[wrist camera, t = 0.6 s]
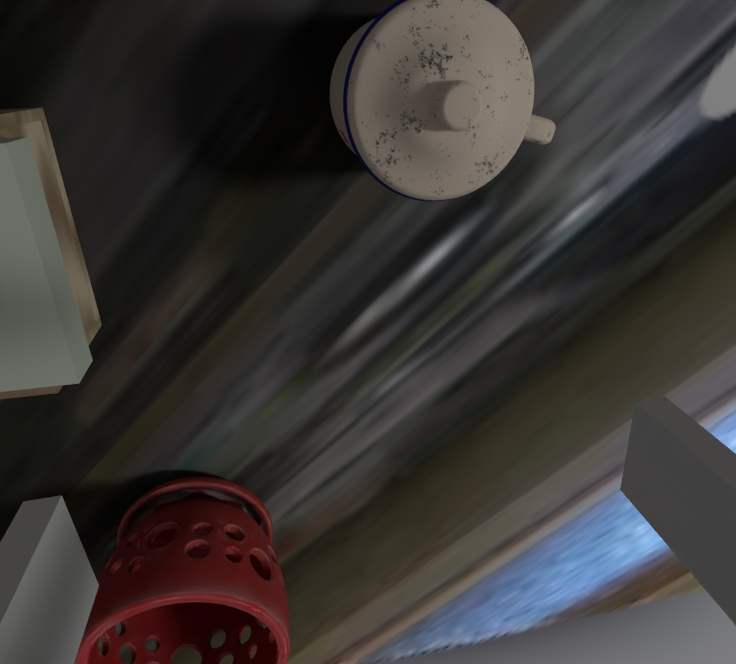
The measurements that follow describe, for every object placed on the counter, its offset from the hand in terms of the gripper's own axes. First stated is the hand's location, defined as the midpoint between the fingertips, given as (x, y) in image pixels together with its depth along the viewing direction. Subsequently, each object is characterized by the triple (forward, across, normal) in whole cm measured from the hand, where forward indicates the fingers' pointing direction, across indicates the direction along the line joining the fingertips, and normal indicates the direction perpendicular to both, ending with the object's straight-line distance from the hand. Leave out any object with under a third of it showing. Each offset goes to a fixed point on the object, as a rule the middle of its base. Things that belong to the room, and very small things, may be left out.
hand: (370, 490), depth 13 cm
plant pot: (+26, -11, -24) cm, 37 cm away
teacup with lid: (+26, +8, +7) cm, 28 cm away
